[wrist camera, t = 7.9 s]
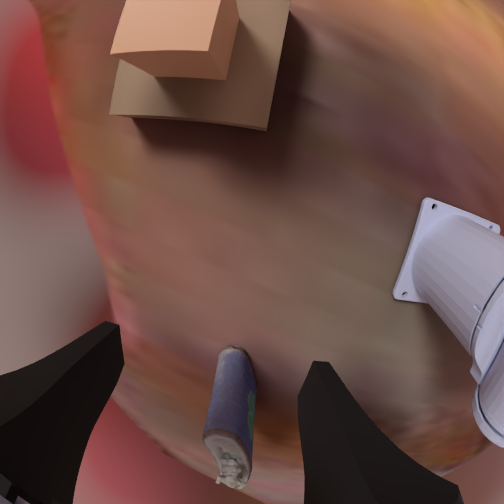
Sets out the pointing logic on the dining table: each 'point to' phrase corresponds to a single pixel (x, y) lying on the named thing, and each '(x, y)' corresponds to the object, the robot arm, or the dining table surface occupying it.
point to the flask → (232, 417)
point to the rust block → (178, 37)
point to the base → (211, 90)
